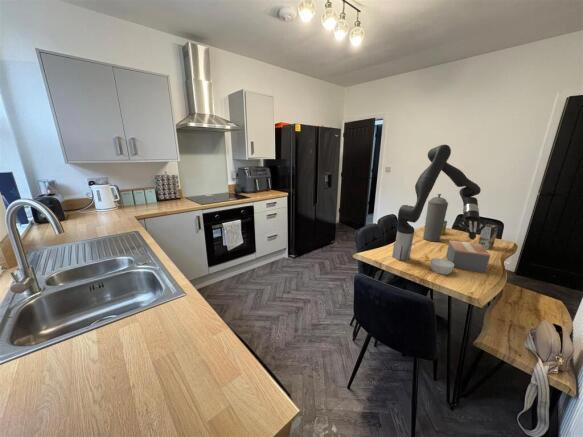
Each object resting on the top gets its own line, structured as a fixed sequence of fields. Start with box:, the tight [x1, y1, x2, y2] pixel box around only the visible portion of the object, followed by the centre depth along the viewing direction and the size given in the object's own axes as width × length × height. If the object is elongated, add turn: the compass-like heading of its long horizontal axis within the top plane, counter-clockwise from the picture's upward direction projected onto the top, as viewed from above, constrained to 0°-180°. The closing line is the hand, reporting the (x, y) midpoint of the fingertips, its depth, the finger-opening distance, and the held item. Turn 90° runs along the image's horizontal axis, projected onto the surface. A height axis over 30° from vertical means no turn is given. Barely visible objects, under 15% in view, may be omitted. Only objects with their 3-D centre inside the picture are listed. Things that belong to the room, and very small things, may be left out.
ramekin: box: [429, 257, 454, 275], centre depth 132 cm, size 11×11×5 cm
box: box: [445, 242, 491, 274], centre depth 139 cm, size 16×16×10 cm
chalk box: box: [441, 219, 448, 236], centre depth 192 cm, size 9×9×15 cm
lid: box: [448, 239, 491, 257], centre depth 138 cm, size 16×16×1 cm
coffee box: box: [477, 223, 499, 251], centre depth 164 cm, size 9×6×16 cm
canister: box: [422, 193, 449, 242], centre depth 175 cm, size 13×13×35 cm
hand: (472, 239), depth 133 cm, fingers closed
